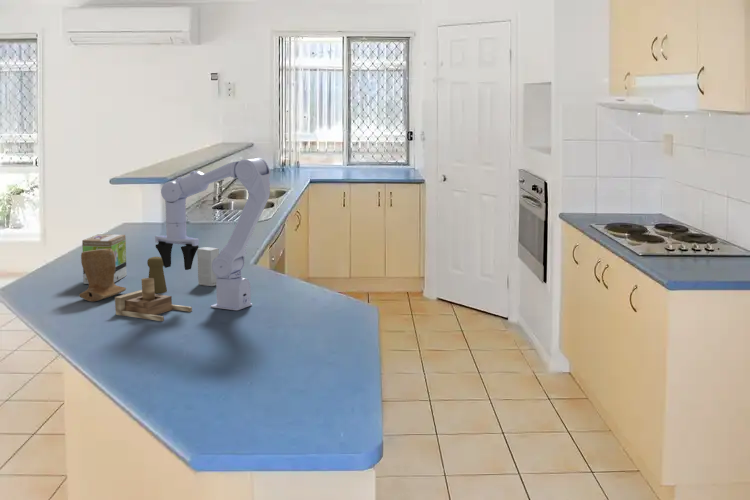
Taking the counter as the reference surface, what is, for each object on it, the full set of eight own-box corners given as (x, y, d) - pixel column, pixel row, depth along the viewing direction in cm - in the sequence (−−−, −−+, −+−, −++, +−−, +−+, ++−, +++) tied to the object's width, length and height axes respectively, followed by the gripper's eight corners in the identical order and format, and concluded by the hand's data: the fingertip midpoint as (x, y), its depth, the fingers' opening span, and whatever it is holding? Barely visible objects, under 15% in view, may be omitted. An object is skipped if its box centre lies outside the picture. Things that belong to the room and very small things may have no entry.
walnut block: (172, 309, 237) (171, 296, 236) (148, 317, 228) (147, 303, 227) (150, 306, 240) (149, 293, 240) (125, 314, 232) (125, 300, 231)
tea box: (113, 285, 270) (111, 240, 268) (82, 284, 270) (80, 240, 268) (127, 276, 285) (125, 233, 283) (98, 275, 285) (96, 233, 283)
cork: (159, 288, 265) (157, 254, 263) (171, 291, 261) (169, 256, 259) (143, 291, 260) (141, 257, 258) (154, 294, 257) (153, 259, 255)
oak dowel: (157, 302, 235) (156, 278, 234) (151, 305, 232) (150, 280, 231) (146, 301, 236) (144, 277, 235) (140, 304, 233) (139, 280, 231)
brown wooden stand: (97, 291, 261) (95, 244, 259) (131, 293, 258) (129, 245, 256) (68, 301, 247) (65, 251, 244) (103, 304, 244) (100, 253, 241)
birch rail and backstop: (192, 311, 236) (191, 293, 235) (161, 321, 224) (161, 303, 223) (147, 305, 243) (146, 288, 242) (115, 314, 231) (114, 297, 230)
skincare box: (220, 284, 272) (219, 248, 270) (211, 286, 268) (210, 250, 266) (206, 282, 275) (205, 246, 273) (197, 284, 271) (196, 248, 269)
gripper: (204, 222, 242) (206, 268, 244) (165, 219, 248) (167, 263, 251) (189, 225, 236) (191, 272, 238) (149, 222, 242) (151, 267, 245)
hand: (177, 268), depth 244 cm, fingers open, 7 cm apart
